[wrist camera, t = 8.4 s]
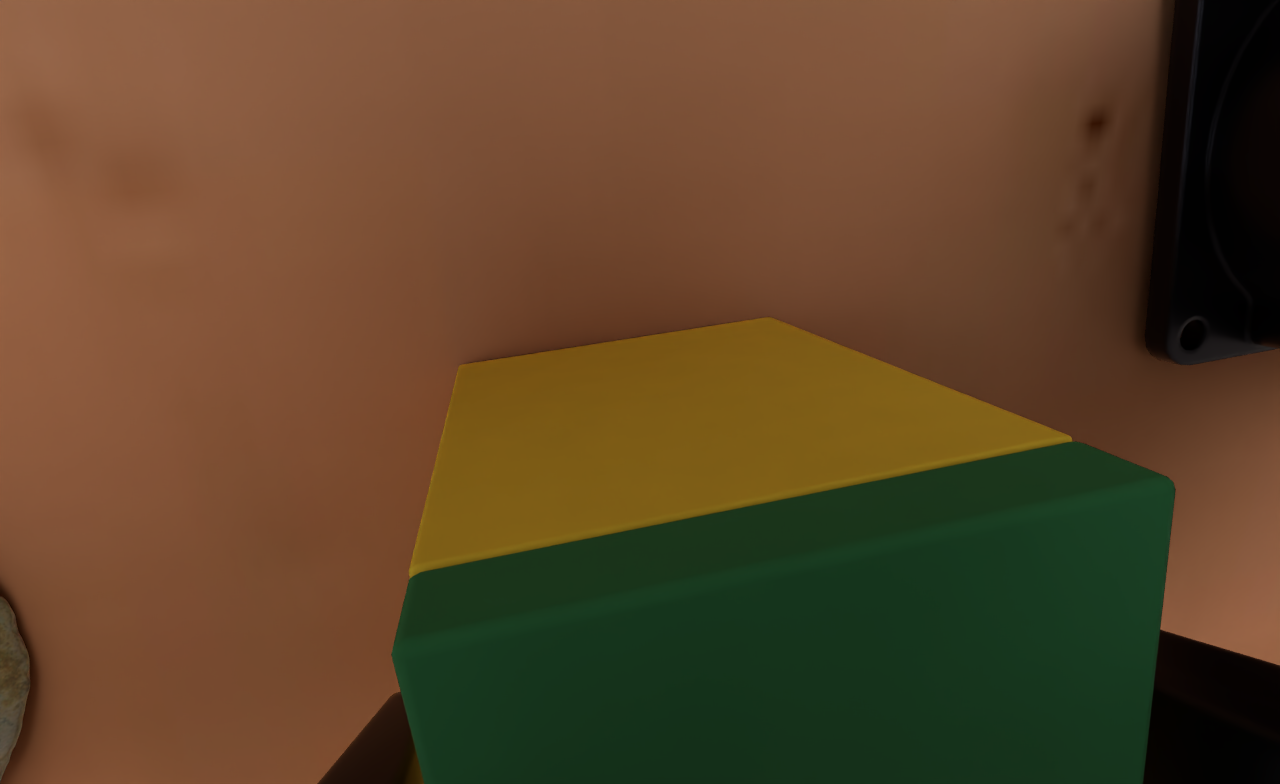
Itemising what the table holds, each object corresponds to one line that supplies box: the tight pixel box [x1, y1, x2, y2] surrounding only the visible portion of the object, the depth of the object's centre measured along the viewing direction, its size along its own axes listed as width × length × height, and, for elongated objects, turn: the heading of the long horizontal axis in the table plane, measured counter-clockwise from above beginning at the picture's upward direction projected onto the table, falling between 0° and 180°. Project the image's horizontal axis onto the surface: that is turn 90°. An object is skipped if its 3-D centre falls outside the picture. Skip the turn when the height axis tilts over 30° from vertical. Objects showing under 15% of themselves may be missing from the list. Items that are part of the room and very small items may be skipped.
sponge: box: [391, 317, 1175, 784], centre depth 8 cm, size 7×5×6 cm, turn 7°
